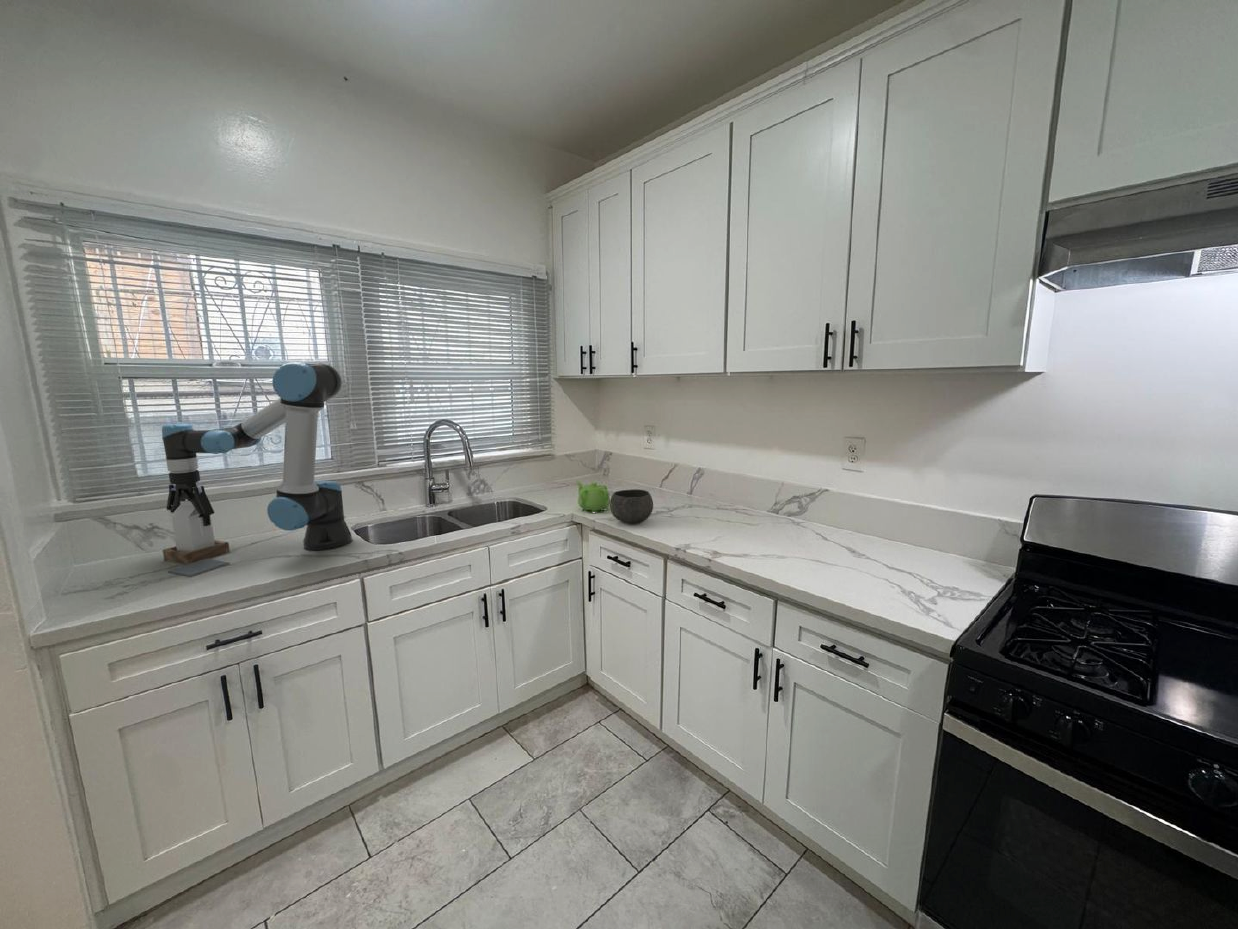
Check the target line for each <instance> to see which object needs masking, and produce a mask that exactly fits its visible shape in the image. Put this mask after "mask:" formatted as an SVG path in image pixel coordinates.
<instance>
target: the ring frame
mask: <svg viewBox="0 0 1238 929" xmlns="http://www.w3.org/2000/svg"><path fill="white" fill-rule="evenodd" d="M214 540H215V545H214V546H210V547H207V548H203V549H200V550H196V551H193V552H189V553H187V552H182V551H177V547H176V546H173V547H169V548H165V549H162V554H163V560H164V561H167V562H173V563H178V564H184V565H187V564H191V563H194V562H197V561H200V560H204V559H207V558H208V559H212V558H215V557H218V556H221V555H224V554H228V553H230V552H231V551H230V544H229V542H228V541H222V540H217V539H214Z"/></svg>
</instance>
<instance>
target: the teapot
mask: <svg viewBox="0 0 1238 929" xmlns="http://www.w3.org/2000/svg"><path fill="white" fill-rule="evenodd" d="M575 482H576V483H577V485H578V498H577V504H578V505H579V507H580V508H581V509H582V510H587V511H588V510H589V511H591V513H592V512H597V513H598V511H602V510H601V509H606V510H607V508H609V507H610V500H611V497H610V494H609V491H608V487H607V486H606V485H605V484H602V485H601V484H598V482H595V481H594V482H590V484H586V485H584V486H583V484H582V483H581V481H579V480H575ZM582 510H581V511H582Z"/></svg>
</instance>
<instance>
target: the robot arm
mask: <svg viewBox="0 0 1238 929" xmlns="http://www.w3.org/2000/svg"><path fill="white" fill-rule="evenodd" d="M341 377H342V376H341V375H340V373H339V372H338V370H336V368H334V367H332V366H331V365H329V364H327V363H321V362H316V363H315V362H303V361H296V362H295V361H294V362H287V363H284V364H282V365H281V366H279V367H278V368H277V369H276V370H275V372H274V374H273V376H272V381H271V382H272V388H273V390H274V392H276V395H277V396H278V397H279V398H277V399H275V401H274V400H273V402H271V403H270V404H268V405H266V406H265V407H263V408H262V409H260V410H259V411H257V412H255V413H253V414H252V415H251V416H249V417H248V418H246V419H244V420H243V421H241V422H240V423H238V424H236V425H235V426H231V427H224V428H223V427H222V428H215V429H203V430H202V429H201V430H199V429H198V430H196V429H195V430H194V428H193V425H192V424H191V423H169V424H163V425H162V426H161V427H162V428H161V432H162V433H161V436H162V437H161V438H162V442H163V443H162V444H163V446H164V447H163V449H164V452H165V453H164V454H165V461H166V468H167V471H168V479H169V483H170V484H168V491H169V492H168V496H167V503H166V510H167V511H170V513H171V515H172V514H173V513H174V512H175V510H176V509H177V508H178V507H179V506H180V501H186V500H187V501H188V502H191V503H192V504H193V506H194V507H195V509H196V510H197V512H198V513H199V516H198V517H199V523H200V529H201V535H202V536H206V535H210V534H212V529H211V522H210V515H214V514H215V511H214V508H213V506H212V504H211V502H210V500H209V497H208V496H207V493H206V490H205V486H203V485H199V486H198V485H197V483H198V482H200V481H201V475H200V470H198V469H199V465H198V462H199V460H198V458H197V454H213V455H218V454H228V453H229V452H230V451H232V450H239V449H242V448H243V449H244V448H245V449H246V448H250V447H252V446H256V445H258V444H259V443H260V442H261V440H262V438H264V437H265V436H266V435H268V434H269V433H271V432H273V431H274V430H276V429H277V428H279V427H281V426H282V425H285V426H284V444H283V445H284V449H283V466H282V468H283V469H282V471H283V472H282V482H281V483H280V484H279V485H277V486H276V492H275V493H276V496H275V497H274V498H273V499H272V500H271V501H270V502H269V503H268V505H267V509H266V511H267V513H266V514H267V516H268V519H269V520H270V522H271V523H273V524H274V525H275V527H277V528H279V529H281V530H283V531H288V532H289V531H291V532H292V531H297V530H298V529H303V528H305V527H306V528H305V533H304V538H303V541H302V542H303V548H304V549H305V550H308V551H323V550H324V551H325V550H326V551H327V550H332V549H336V548H340V547H343V546H346V545H348V544H350V543H351V542H352V541H353V537H352V532H351V530H350V529H349V526H348V525H347V523H346V520H345V515H344V514H345V513H344V512H345V511H344V504H343V494H342V493H343V490H342V487H341V483H340V482H339V481H336V480H317V481H315V473H316V471H315V469H316V455H317V454H316V453H317V452H316V451H317V439H318V438H317V436H318V422H319V421H318V418H319V412H320V411H322V410H323V409H324V408H325V403H326V402H327V401H329V400H331V399H332V398H334V397H335V396H337V395H338V394H339V393H340V390H341V389H342V383H343V382H342V378H341Z"/></svg>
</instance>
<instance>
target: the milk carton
mask: <svg viewBox="0 0 1238 929" xmlns="http://www.w3.org/2000/svg"><path fill="white" fill-rule="evenodd" d="M211 515H212V514H211ZM211 515H210V522H211V529H212V534H210V535H206V536H202V535H201V529H200V523H199V517H198V516H199V513H198V512H197V510H196V509H195V507H194V506H193V504H192V503H191V501H188V500H187V501H186V500H185V501H180V506H179V507H178V508H177V509H176V510H175V512H174V513H173V514H172V513H171V516H170V517H171V523H172V530H173V535H174V540H175V545H176V547H177V551H182V552H187V553H189V552H193V551H196V550H200V549H203V548H207V547H210V546H214V545H215V540H216V539H215V536H214V535H215V534H214V528H213V522H212V516H211Z"/></svg>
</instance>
